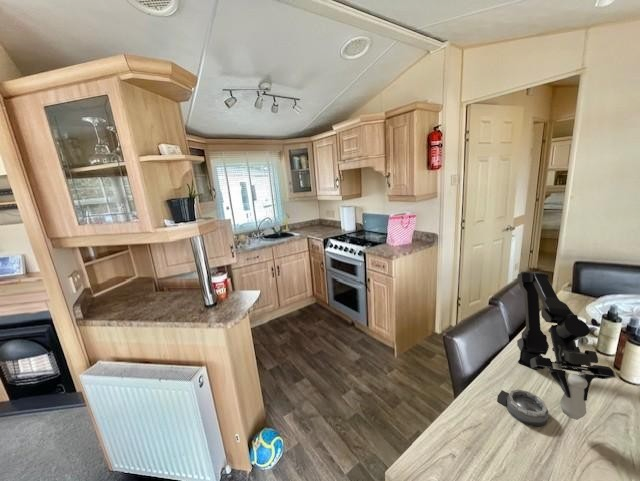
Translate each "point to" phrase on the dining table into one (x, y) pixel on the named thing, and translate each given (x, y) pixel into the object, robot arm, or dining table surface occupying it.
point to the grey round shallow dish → (525, 407)
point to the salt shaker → (574, 397)
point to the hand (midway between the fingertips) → (576, 399)
